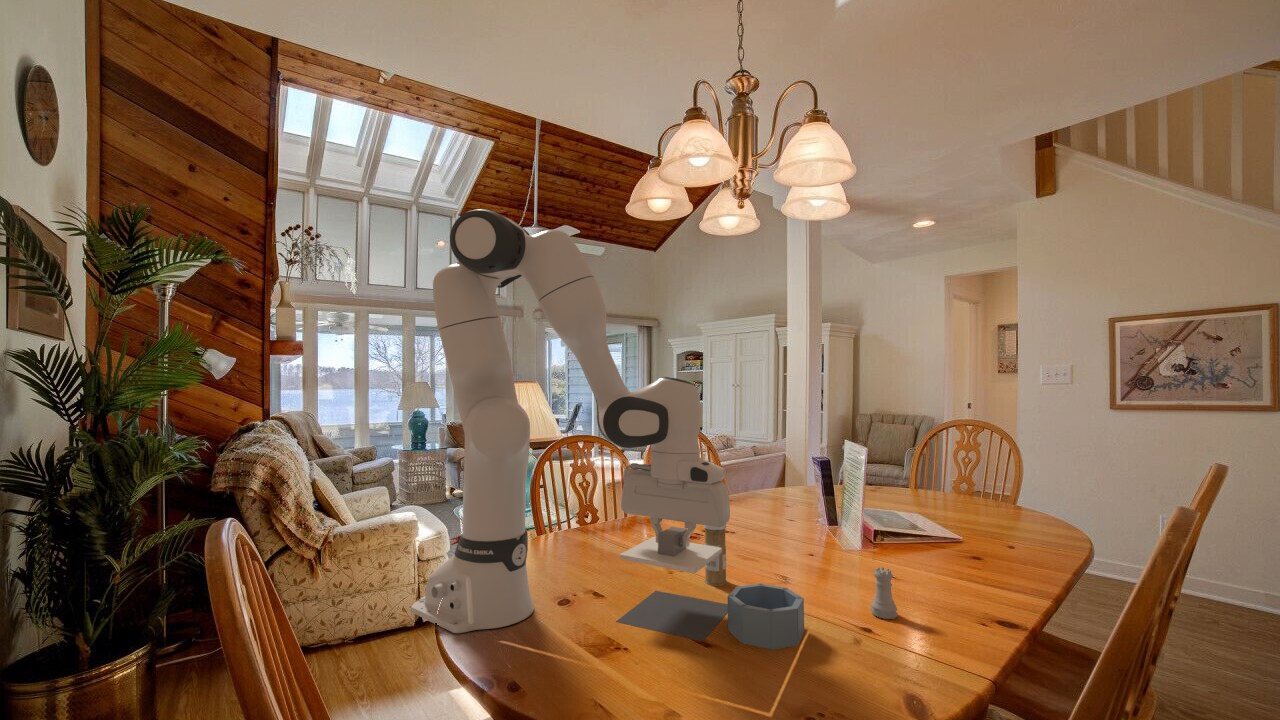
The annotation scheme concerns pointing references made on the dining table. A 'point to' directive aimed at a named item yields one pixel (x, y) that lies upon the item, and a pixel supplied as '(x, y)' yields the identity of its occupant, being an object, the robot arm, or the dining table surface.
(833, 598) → the dining table surface
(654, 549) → the lid
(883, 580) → the rook chess piece
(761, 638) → the bowl
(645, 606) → the mat
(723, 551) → the sprinkles bottle
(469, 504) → the robot arm
